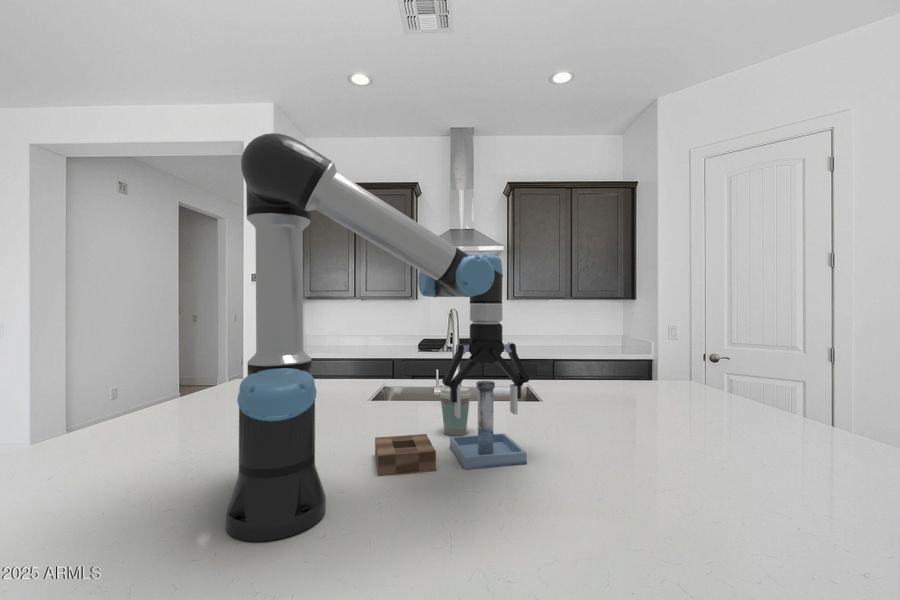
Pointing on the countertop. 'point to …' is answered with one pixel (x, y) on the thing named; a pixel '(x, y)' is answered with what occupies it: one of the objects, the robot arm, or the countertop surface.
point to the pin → (485, 417)
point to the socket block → (404, 454)
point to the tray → (502, 456)
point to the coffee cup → (451, 422)
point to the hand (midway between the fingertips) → (486, 414)
